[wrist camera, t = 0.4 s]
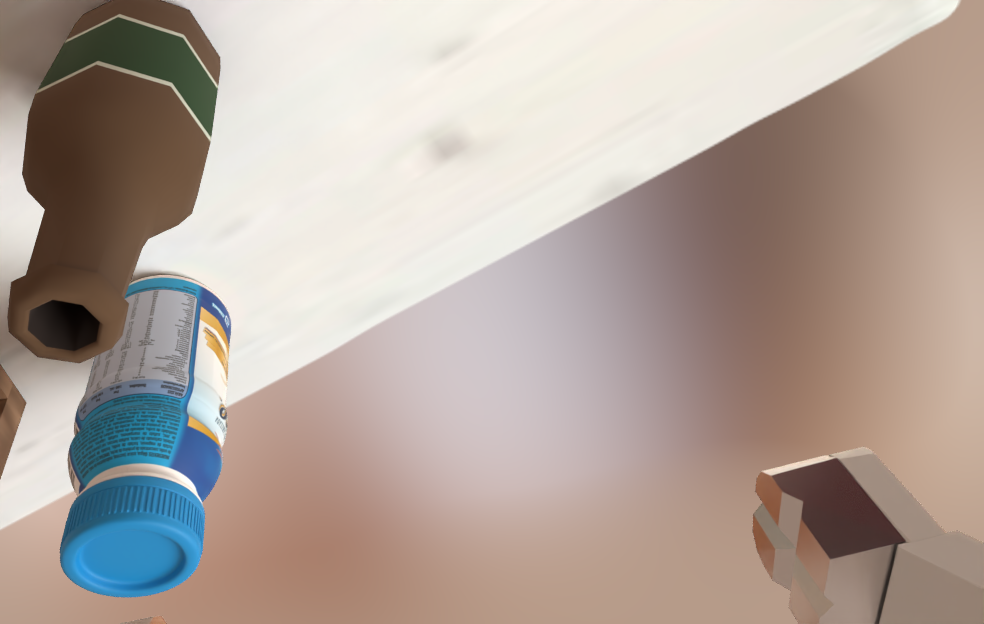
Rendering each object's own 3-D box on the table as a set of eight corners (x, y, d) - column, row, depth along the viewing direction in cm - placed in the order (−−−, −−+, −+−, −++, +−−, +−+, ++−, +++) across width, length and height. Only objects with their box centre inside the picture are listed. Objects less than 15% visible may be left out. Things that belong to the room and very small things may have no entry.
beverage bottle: (148, 247, 51) (96, 488, 36) (258, 308, 56) (252, 542, 41) (79, 328, 54) (3, 584, 39) (189, 379, 58) (160, 624, 43)
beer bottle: (53, -11, 41) (-126, 242, 22) (208, -17, 42) (159, 217, 24) (96, 127, 45) (-22, 427, 27) (234, 118, 47) (209, 397, 29)
